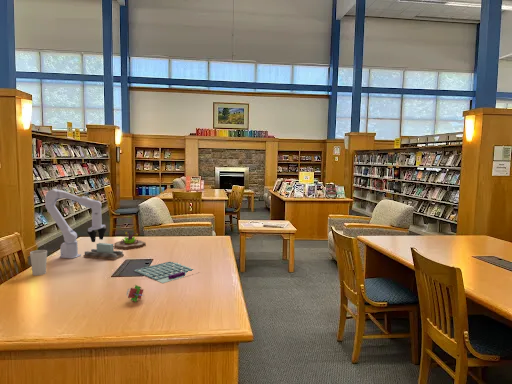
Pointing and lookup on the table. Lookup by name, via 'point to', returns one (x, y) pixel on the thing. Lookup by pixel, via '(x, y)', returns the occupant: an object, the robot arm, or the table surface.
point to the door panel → (105, 248)
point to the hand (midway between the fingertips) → (97, 240)
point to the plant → (129, 243)
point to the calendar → (164, 271)
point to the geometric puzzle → (135, 293)
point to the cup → (38, 262)
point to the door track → (103, 255)
